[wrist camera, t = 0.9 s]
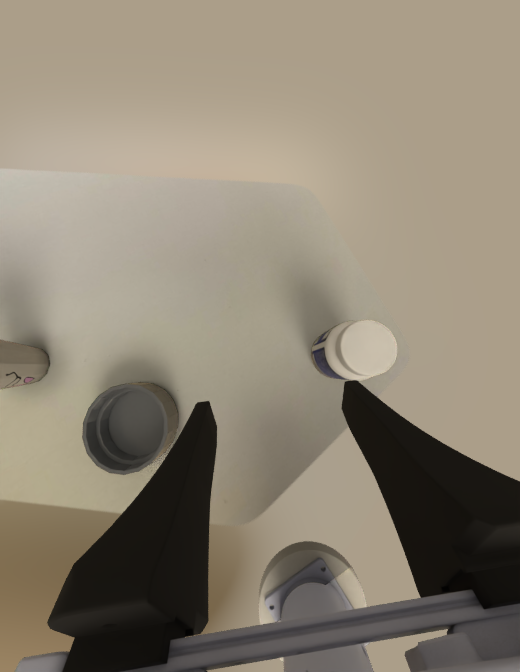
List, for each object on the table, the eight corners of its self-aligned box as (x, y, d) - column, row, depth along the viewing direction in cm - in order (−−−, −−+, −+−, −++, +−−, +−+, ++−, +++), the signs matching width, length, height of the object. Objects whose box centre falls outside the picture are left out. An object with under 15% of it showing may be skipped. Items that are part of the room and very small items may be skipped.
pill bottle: (354, 381, 28) (402, 388, 18) (307, 374, 28) (329, 377, 19) (359, 335, 29) (407, 318, 19) (313, 328, 29) (337, 308, 19)
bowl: (194, 431, 28) (184, 441, 24) (127, 477, 27) (107, 493, 24) (156, 367, 29) (141, 367, 26) (91, 409, 29) (67, 415, 25)
